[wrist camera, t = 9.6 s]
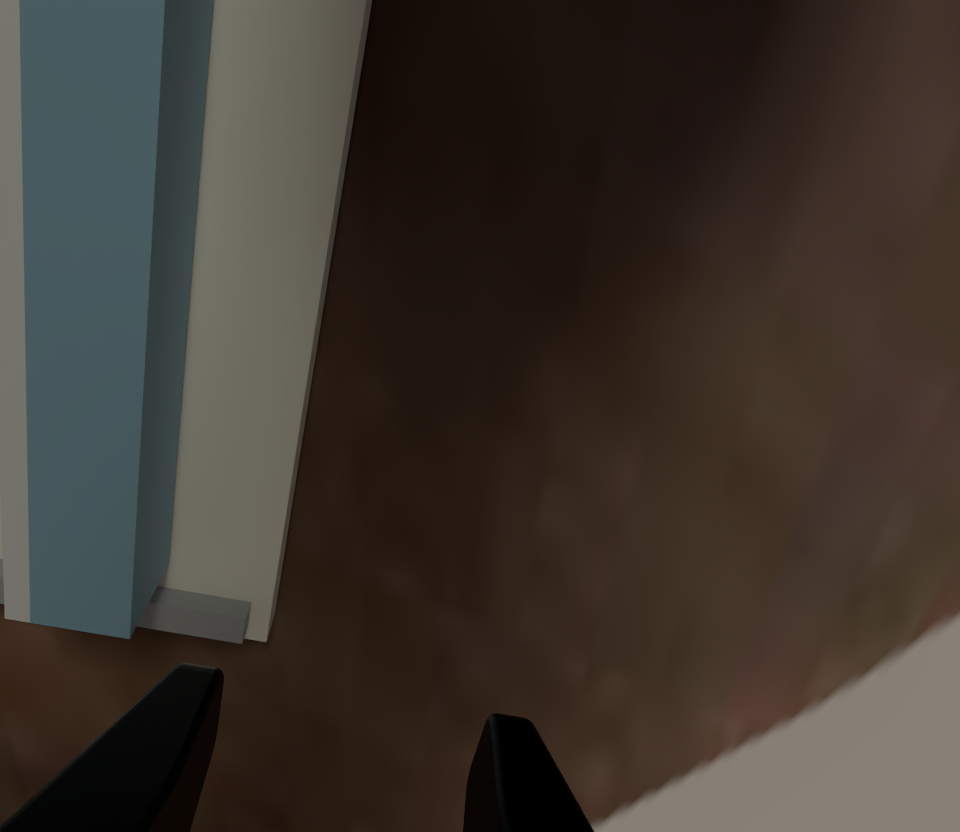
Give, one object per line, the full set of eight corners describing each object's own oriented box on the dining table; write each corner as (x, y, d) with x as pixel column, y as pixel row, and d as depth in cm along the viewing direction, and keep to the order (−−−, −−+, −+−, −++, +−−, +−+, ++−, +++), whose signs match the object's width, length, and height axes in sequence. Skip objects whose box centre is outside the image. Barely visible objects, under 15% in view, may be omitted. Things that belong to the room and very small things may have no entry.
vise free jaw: (223, -125, 13) (173, -146, 11) (168, 564, 19) (129, 639, 17) (60, -170, 13) (-25, -200, 11) (58, 544, 19) (4, 618, 17)
